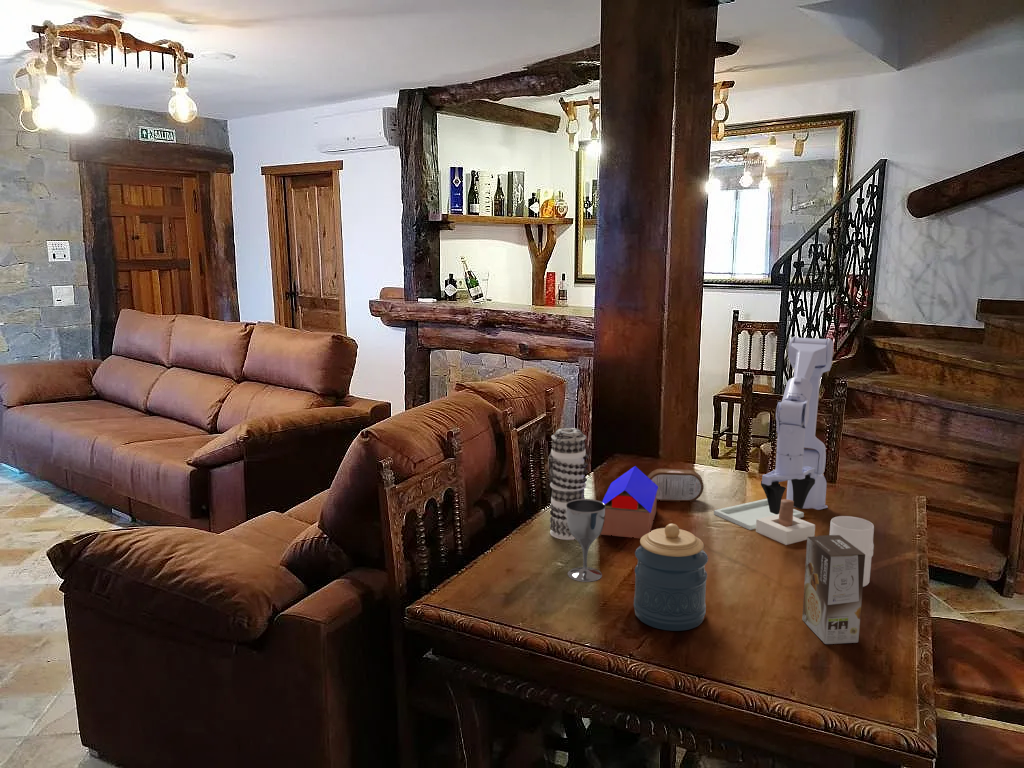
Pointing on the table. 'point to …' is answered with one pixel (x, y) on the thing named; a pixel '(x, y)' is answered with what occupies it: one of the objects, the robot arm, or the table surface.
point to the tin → (677, 484)
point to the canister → (670, 579)
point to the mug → (856, 537)
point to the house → (630, 505)
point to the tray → (749, 513)
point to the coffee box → (833, 589)
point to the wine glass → (585, 532)
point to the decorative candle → (566, 477)
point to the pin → (786, 512)
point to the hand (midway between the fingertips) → (786, 510)
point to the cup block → (785, 529)
